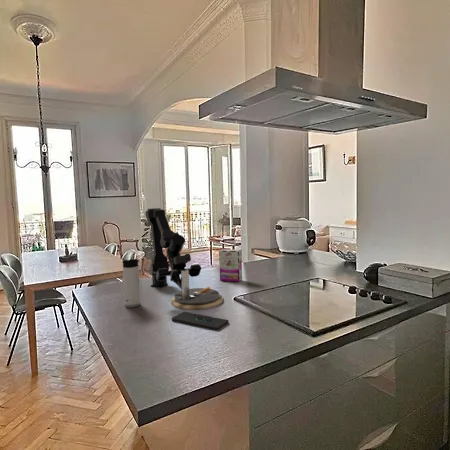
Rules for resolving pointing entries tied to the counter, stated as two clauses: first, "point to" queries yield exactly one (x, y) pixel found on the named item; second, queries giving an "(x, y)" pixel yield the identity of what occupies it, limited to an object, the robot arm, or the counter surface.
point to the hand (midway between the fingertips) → (183, 289)
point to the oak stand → (196, 307)
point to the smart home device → (200, 321)
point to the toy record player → (194, 293)
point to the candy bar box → (230, 265)
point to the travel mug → (131, 283)
